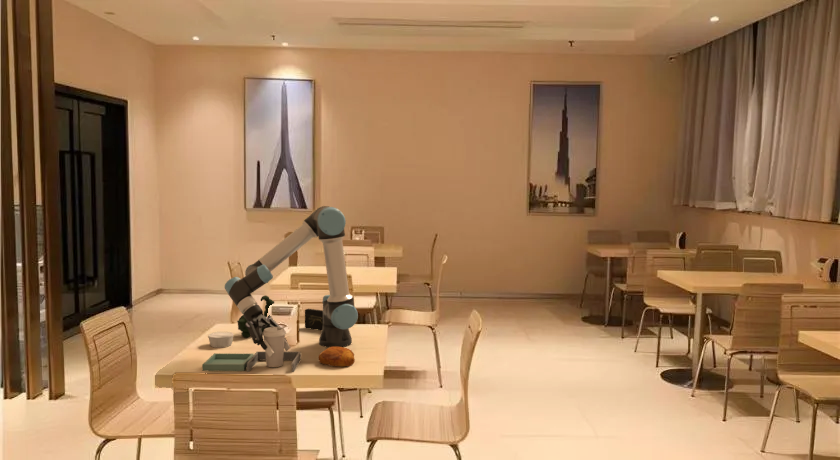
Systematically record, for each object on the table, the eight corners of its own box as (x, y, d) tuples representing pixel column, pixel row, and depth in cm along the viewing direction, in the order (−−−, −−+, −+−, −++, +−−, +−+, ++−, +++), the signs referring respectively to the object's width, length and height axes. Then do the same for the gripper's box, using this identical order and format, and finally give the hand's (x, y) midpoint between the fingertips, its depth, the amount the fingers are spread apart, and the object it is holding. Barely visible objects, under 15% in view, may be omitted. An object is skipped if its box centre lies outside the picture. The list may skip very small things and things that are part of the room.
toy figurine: (262, 331, 346) (228, 338, 323) (264, 293, 345) (230, 297, 322) (278, 334, 341) (244, 340, 318) (280, 295, 341) (246, 299, 318)
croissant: (342, 375, 275) (344, 356, 274) (312, 364, 283) (313, 345, 281) (362, 365, 288) (364, 347, 286) (333, 355, 295) (335, 337, 294)
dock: (300, 359, 289) (300, 351, 289) (293, 372, 271) (293, 363, 271) (256, 359, 289) (256, 351, 288) (246, 371, 271) (246, 363, 270)
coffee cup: (280, 368, 274) (280, 332, 273) (258, 367, 276) (258, 331, 274) (290, 362, 283) (289, 327, 282) (268, 361, 285) (268, 325, 284)
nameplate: (304, 328, 347) (304, 309, 347) (307, 327, 349) (307, 308, 348) (338, 333, 337) (338, 313, 336) (340, 332, 339) (340, 312, 338)
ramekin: (209, 349, 304) (209, 338, 304) (206, 343, 315) (206, 332, 314) (235, 347, 309) (235, 335, 308) (231, 341, 319) (231, 330, 319)
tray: (253, 359, 289) (253, 353, 288) (244, 370, 272) (244, 364, 272) (214, 359, 288) (214, 353, 288) (202, 370, 272) (202, 364, 271)
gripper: (263, 310, 295) (292, 351, 289) (226, 320, 276) (256, 364, 269) (273, 299, 292) (302, 340, 286) (235, 308, 273) (266, 352, 266)
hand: (280, 351), depth 277 cm, fingers closed on coffee cup, 9 cm apart
